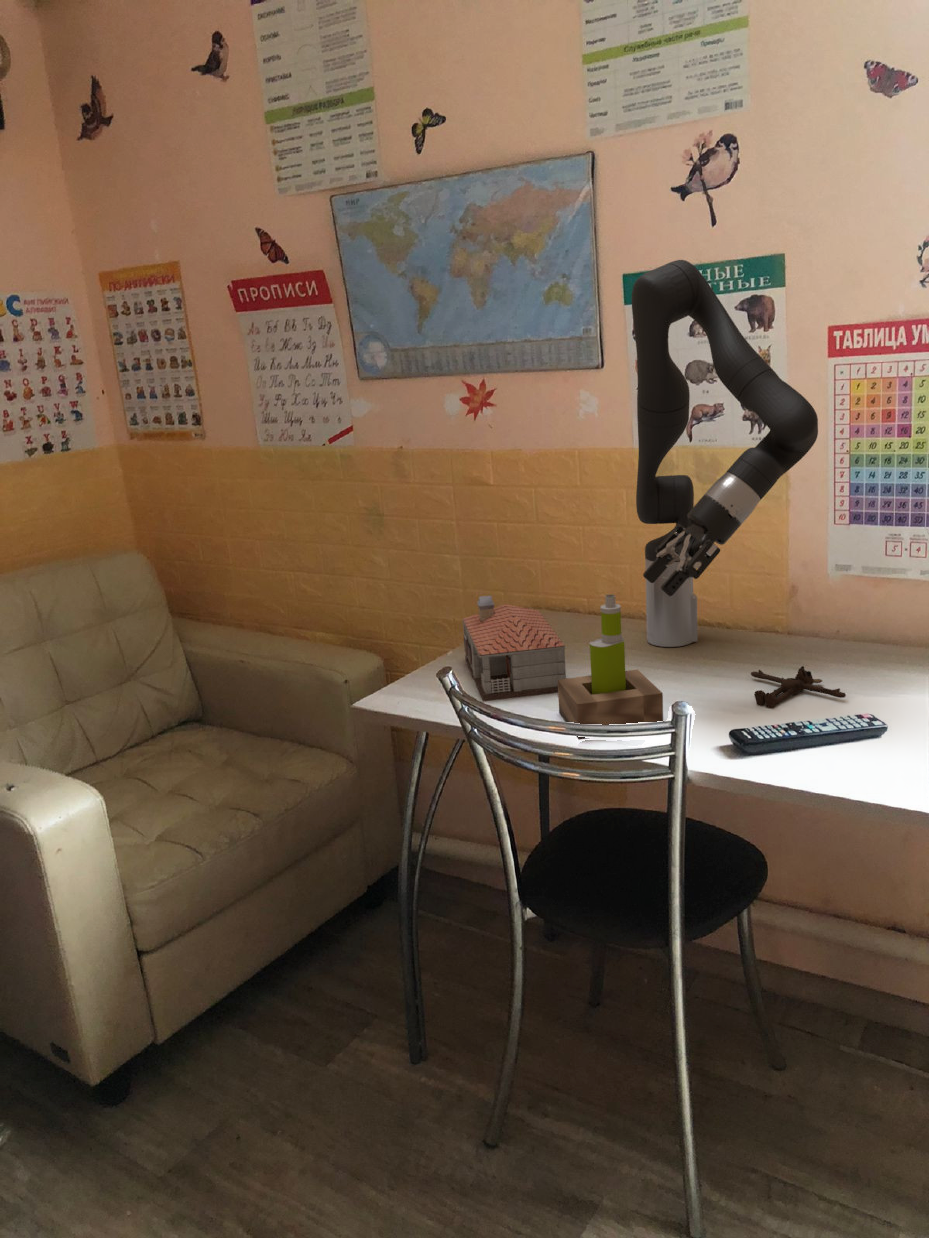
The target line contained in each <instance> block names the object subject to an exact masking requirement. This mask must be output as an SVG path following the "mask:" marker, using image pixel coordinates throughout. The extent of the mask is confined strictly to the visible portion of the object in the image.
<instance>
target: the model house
mask: <svg viewBox="0 0 929 1238" xmlns="http://www.w3.org/2000/svg"><path fill="white" fill-rule="evenodd" d="M476 604H477V607H478V613H476V614H473V615H470V616H467V617H464V618H462V627H463V629H462V630H463V645H464V647H463V649H464V653H465V655H464V657H465V663H466V665H467V667H468V670H469V672H470V675H471V677H472V679H473V682H474V684H475V687H476V689H477V692H478V693H479V696H480V699H481V700H482V702H488V701H489V702H491V701H497V700H498V701H499V700H506V699H514V698H517V699H518V698H523V697H525V698H526V697H531V696H534V697H535V696H542V695H550V694H551V695H552V694H558V680H559V679H567V677H566V676H567V673H566V671H567V670H566V655H565V653H566V651H565V650H566V646H565V644H564V642H563V641H562V640H561V639H560V637H559V636H558V635H557V633H556V632H555V631H554V630H553V628H552V626H551V625H550V624H549V623H548V621H547V620H546V619H545V617H544V616H543V615H542V613H541V612H540V611H539V610H536V609H531V608H526V607H521V606H517V605H516V606H515V605H510V604H503V605H500V606H497V607H495V603H494V600H493V598H492V595H484V596H478V601H476Z"/></svg>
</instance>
